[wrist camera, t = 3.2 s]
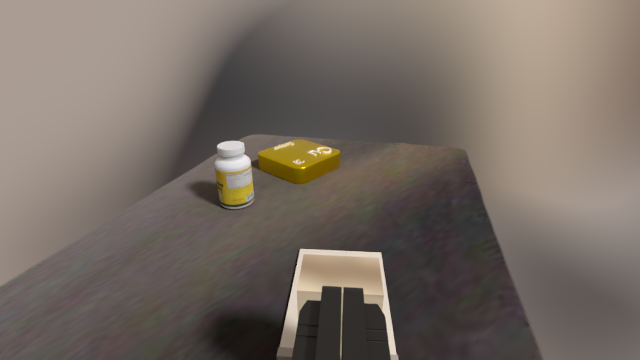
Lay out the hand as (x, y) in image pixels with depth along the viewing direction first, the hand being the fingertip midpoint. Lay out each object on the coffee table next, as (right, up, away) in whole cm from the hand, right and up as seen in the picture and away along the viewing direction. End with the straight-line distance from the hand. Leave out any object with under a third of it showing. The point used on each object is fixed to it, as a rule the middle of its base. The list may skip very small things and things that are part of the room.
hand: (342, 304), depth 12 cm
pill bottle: (-17, 0, +51) cm, 53 cm away
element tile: (-6, +7, +67) cm, 67 cm away
